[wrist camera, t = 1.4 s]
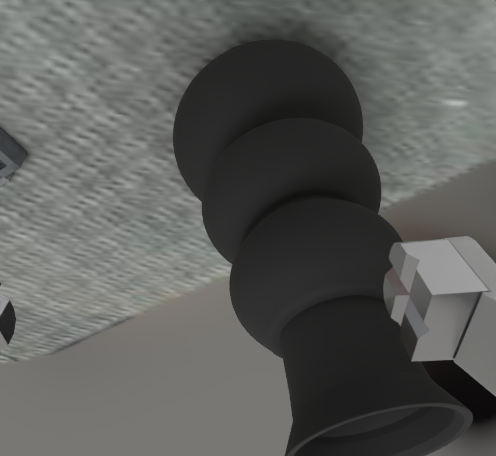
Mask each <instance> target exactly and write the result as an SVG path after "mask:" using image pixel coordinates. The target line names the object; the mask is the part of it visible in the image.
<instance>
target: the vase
mask: <svg viewBox="0 0 496 456" xmlns="http://www.w3.org/2000/svg"><path fill="white" fill-rule="evenodd" d="M362 135H363V119H362V112H361V107H360V103H359V100H358V97H357V94H356V92H355V90H354V88H353V86H352V84H351V82H350V81H349V79H348V78H347V76H346V75H345V74H344V72H343V71H342V70H341V69H340V68H339V67H338V66H337V65H336V64H335V63H334V62H333V61H332V60H331V59H329V58H328V57H327V56H325V55H323V54H322V53H320V52H319V51H317V50H315V49H313V48H310V47H308V46H305V45H302V44H299V43H295V42H291V41H284V40H263V41H256V42H251V43H247V44H244V45H241V46H238V47H235V48H233V49H231V50H229V51H227V52H225V53H223V54H221V55H220V56H218V57H217V58H215V59H214V60H212V61H211V62H210V63H209V64H208V65H206V66H205V67H204V68H203V69H202V70H201V71H200V72H199V73H198V74H197V76H196V77H195V78H194V79H193V80H192V82H191V83H190V85H189V86H188V88H187V90H186V91H185V93H184V95H183V97H182V99H181V101H180V104H179V106H178V110H177V113H176V117H175V122H174V129H173V146H174V153H175V158H176V161H177V165H178V168H179V170H180V173H181V175H182V177H183V179H184V181H185V182H186V184H187V185H188V187H189V188H190V190H191V191H192V192H193V193H194V195H195V196H196V197H197V198H198V199H199V200H200V201H201V202H202V216H203V222H204V225H205V229H206V232H207V234H208V236H209V238H210V240H211V242H212V243H213V245H214V246H215V248H216V249H217V250H218V252H219V253H220V254H221V255H222V256H223V257H224V258H225V259H226V260H227V261H229V262H230V263H231V264H233V265H232V268H231V273H230V296H231V301H232V305H233V308H234V311H235V313H236V315H237V317H238V319H239V321H240V322H241V324H242V325H243V327H244V328H245V329H246V331H247V332H248V333H249V334H250V335H251V336H252V337H253V338H254V339H255V340H256V341H258V342H259V343H260V344H261V345H263V346H265V347H266V348H267V349H269V350H270V351H272V352H273V353H274V354H276V355H277V356H279V357H281V358H283V361H284V366H285V372H286V377H287V383H288V388H289V393H290V401H291V410H292V416H293V424H292V428H291V432H290V436H289V440H288V445H287V449H286V453H285V456H425V455H428V454H430V453H432V452H434V451H436V450H438V449H440V448H442V447H444V446H446V445H448V444H449V443H451V442H452V441H454V440H455V439H457V438H458V437H459V436H461V435H462V434H463V433H464V432H465V431H466V430H467V429H468V428H469V427H470V425H471V423H472V421H473V415H472V413H471V411H470V410H469V409H468V408H466V407H465V406H464V405H462V404H461V403H460V402H458V401H457V400H456V399H455V398H454V397H452V396H451V395H450V394H448V393H447V392H446V391H445V390H443V389H442V388H441V387H439V386H438V385H437V384H436V383H435V382H433V381H432V380H431V378H430V376H429V375H428V373H427V372H426V370H425V369H424V367H423V366H422V364H421V362H420V361H412V362H411V360H410V358H409V355H408V353H407V351H406V349H405V347H404V345H403V343H402V341H401V339H400V337H399V331H400V325H399V323H398V322H396V321H395V320H393V319H392V318H391V317H390V315H389V313H388V311H387V308H386V305H385V301H384V292H383V284H384V279H385V274H386V273H387V272H388V271H389V270H390V269H391V268H392V267H393V265H392V263H391V261H390V260H389V255H390V250H391V248H392V246H393V244H394V243H397V242H403V241H402V239H401V237H400V236H399V234H398V233H397V232H396V230H395V229H394V228H393V227H392V226H391V225H390V224H389V223H388V222H387V221H386V220H385V219H384V218H383V217H381V216H380V215H378V212H379V207H380V202H381V182H380V176H379V172H378V169H377V166H376V164H375V162H374V160H373V158H372V156H371V154H370V153H369V151H368V150H367V149H366V147H365V146H364V145H363V144H362Z"/></svg>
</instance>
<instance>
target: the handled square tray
mask: <svg viewBox="0 0 496 456" xmlns="http://www.w3.org/2000/svg"><path fill="white" fill-rule="evenodd" d="M26 154H27V152H26V151H25V150H24V149H23V148H22V147H21V146H20V145H19V144H18V143H17V142H15V141H14V140H13V139H12V138H11V137H10V136H9V135H8V134H7V133H6V132H5V131H3V130H2V129H1V128H0V186H1V185H3V184H5V183H7V182H8V181H10V178H11V176H12V174H13V173H12V172H14V171H16V170H17V169H19V168H20V167H21V165H22V163H23V160H24V158H25V156H26Z"/></svg>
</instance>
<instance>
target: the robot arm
mask: <svg viewBox="0 0 496 456" xmlns="http://www.w3.org/2000/svg"><path fill="white" fill-rule="evenodd" d="M389 260H390V261H391V263H392V265H393V267H392V268H391V269H390V270H389V271H388V272H387V273H386V274H385V279H384V284H383V292H384V301H385V305H386V308H387V311H388V313H389V315H390V317H391V318H392V319H393V320H395V321H396V322H398V323H399V324H400V325H401V327H400V331H399V337H400V339H401V341H402V343H403V345H404V347H405V349H406V351H407V353H408V355H409V358H410V360H411V362H412V361H433V360H454V359H455V360H454V362H455V363H456V364H457V365H459V366H460V367H461V368H462V369H464V370H465V371H466V372H467V373H469V374H470V375H471V376H472V377H473V378H474V379H475V380H477V381H478V382H479V383H480V384H482V385H483V386H484V387H485V388H486V389H487V390H489V391H490V392H491V393H492V394H493V395H495V396H496V264H495V263H494V261H492V259H491V258H490V257H489V256H488V255H487V254H486V252H485V251H484V250H483V249H482V248H481V247H480V246H479V245H478V243H477V242H476V241H475V240H474V239H472V238H470V237H468V236H465V237H455V238H444V239H440V240H425V241H411V242H397V243H394V244H393V246H392V248H391V250H390V255H389ZM0 285H1V283H0ZM15 322H16V317H15V312H14V308H13V306H12V304H11V302H10V300H9V299H7V298H6V297H4V296H2V295H1V294H0V351H1V350H2V349H3V348H5V347H6V346H7V345H8V344H9V342H10V340H11V338H12V336H13V334H14V329H15Z"/></svg>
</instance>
